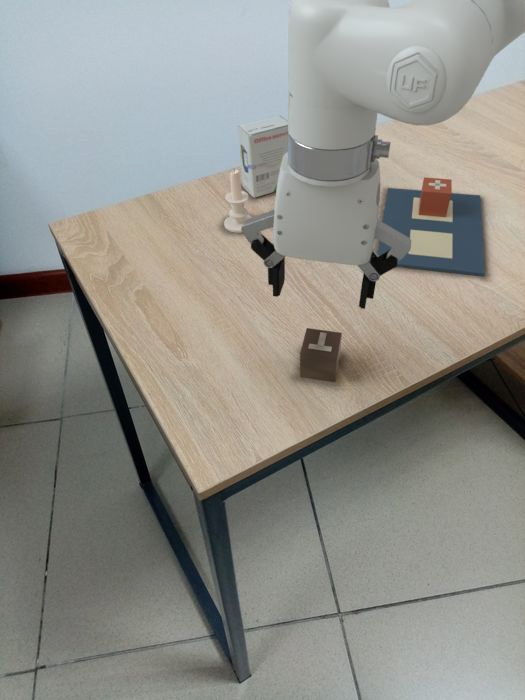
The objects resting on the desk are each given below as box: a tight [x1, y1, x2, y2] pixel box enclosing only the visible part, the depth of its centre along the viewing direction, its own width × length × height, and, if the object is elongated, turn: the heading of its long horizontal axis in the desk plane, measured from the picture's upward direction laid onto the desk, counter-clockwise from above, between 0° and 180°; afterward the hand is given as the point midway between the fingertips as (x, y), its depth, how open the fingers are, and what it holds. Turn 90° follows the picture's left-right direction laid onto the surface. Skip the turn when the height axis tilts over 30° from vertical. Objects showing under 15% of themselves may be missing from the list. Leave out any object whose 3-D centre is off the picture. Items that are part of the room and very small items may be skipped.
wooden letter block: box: [299, 327, 343, 383], centre depth 67 cm, size 4×4×5 cm
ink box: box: [237, 115, 288, 199], centre depth 95 cm, size 9×5×12 cm, turn 116°
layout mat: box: [377, 187, 486, 277], centre depth 88 cm, size 16×22×1 cm
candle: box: [223, 169, 253, 234], centre depth 88 cm, size 5×5×10 cm
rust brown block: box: [418, 177, 453, 217], centre depth 89 cm, size 4×4×5 cm
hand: (320, 294), depth 60 cm, fingers open, 9 cm apart
